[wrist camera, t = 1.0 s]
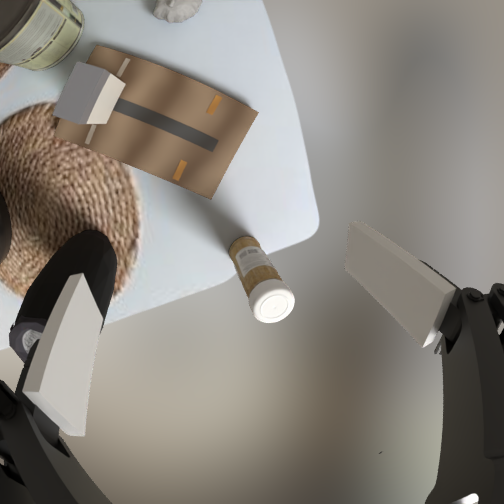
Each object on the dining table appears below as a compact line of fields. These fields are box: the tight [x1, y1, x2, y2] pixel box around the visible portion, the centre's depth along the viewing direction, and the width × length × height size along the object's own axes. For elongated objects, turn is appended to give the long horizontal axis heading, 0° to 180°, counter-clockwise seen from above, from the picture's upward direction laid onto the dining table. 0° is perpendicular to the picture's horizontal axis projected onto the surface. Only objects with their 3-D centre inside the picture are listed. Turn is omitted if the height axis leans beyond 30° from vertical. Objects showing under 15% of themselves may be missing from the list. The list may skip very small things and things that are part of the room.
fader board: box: [54, 45, 259, 199], centre depth 27 cm, size 22×12×2 cm, turn 61°
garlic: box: [153, 0, 202, 23], centre depth 19 cm, size 6×5×5 cm
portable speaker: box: [9, 230, 117, 363], centre depth 24 cm, size 9×9×20 cm
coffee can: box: [0, 0, 84, 71], centre depth 12 cm, size 10×10×14 cm
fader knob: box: [52, 61, 126, 124], centre depth 19 cm, size 3×5×9 cm, turn 151°
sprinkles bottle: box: [229, 236, 295, 323], centre depth 33 cm, size 5×5×14 cm
